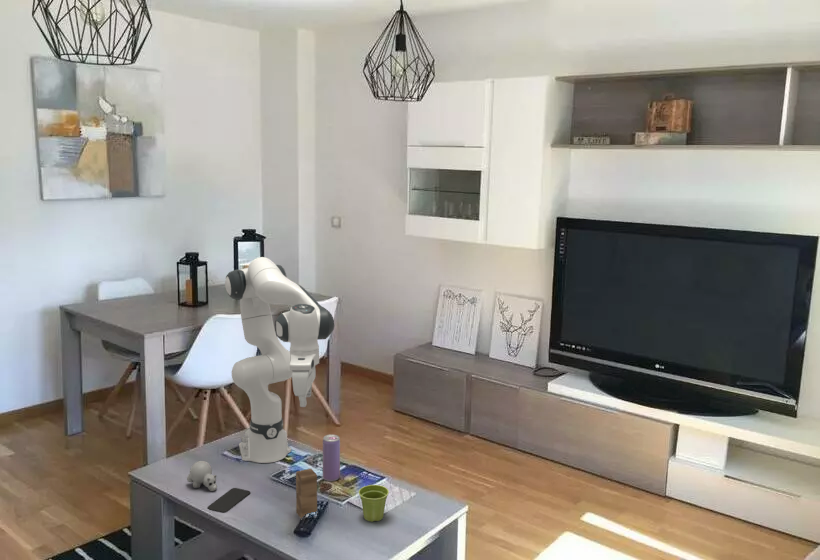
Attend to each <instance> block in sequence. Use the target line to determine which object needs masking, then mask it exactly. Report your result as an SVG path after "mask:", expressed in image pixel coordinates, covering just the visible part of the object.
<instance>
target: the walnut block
mask: <svg viewBox="0 0 820 560" xmlns="http://www.w3.org/2000/svg"><path fill="white" fill-rule="evenodd" d="M295 492H296V493H295V494H296V495H295V496H296V497H295V501H296V502H295V505H296V506H295V508H296V509H295V512H296V515H298V517H299V518H300V519H301V518H302V517H303V516H304V515H305V514H307V513H311V512H316V511H317V512H318V474H317V473H316V472H315V471H314V470H313V469H312V468H307V469H302V470H298V471H296V472H295Z"/></svg>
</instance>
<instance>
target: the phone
mask: <svg viewBox="0 0 820 560" xmlns="http://www.w3.org/2000/svg"><path fill="white" fill-rule="evenodd" d="M250 495H251V491H250V490H247V489H241V488H238V487H232V488H229V490H227V492H225V493H224V494H222V495H221V496H220V497H218V498H216V499H215V500H214V501H213V502H212V503H210V505H208V506H207V510H208V509H209V511H214V512H217V513H224V514H225V513H226V514H227V513H228V512H229V511H230V510H232V509H233V508H234V507H236V506H237V505H238V504H239V503H240V502H242V501H244V499H246V498H247V497H248V496H250Z"/></svg>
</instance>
